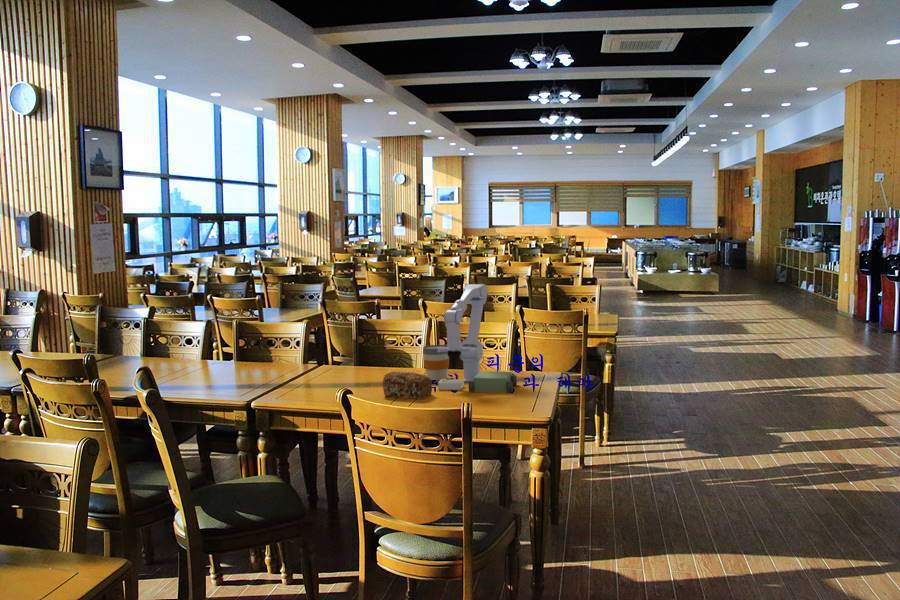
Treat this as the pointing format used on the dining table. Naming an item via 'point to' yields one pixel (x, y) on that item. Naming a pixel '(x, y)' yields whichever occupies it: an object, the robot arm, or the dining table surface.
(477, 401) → the dining table surface
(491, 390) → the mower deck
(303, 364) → the dining table surface
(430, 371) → the reusable coffee cup
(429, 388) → the bread
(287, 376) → the dining table surface
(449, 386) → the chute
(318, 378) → the dining table surface
